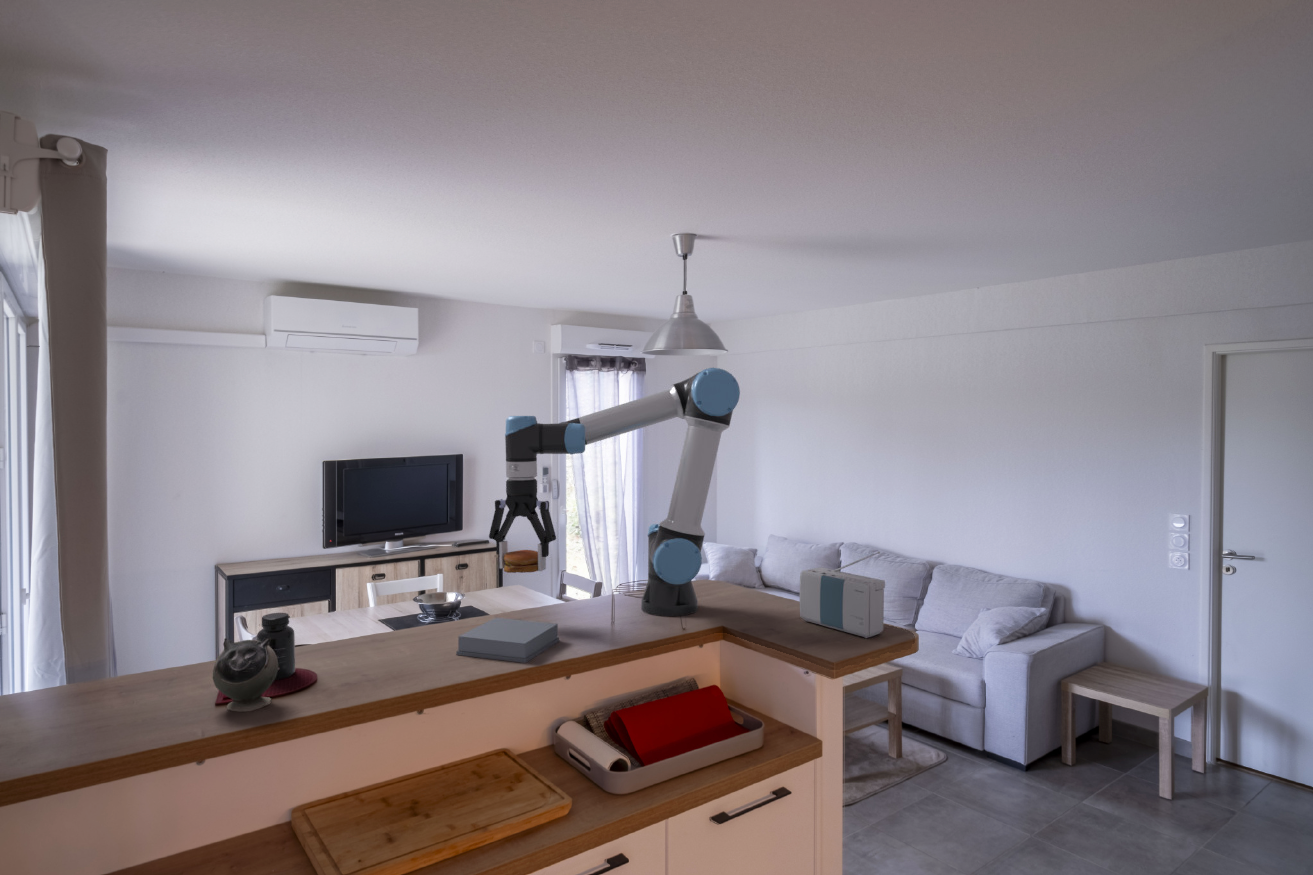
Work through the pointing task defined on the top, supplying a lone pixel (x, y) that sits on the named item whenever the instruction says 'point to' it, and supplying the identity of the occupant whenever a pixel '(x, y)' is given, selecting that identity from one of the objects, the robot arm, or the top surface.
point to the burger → (521, 561)
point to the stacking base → (508, 640)
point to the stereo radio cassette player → (842, 600)
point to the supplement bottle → (280, 641)
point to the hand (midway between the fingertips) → (522, 568)
